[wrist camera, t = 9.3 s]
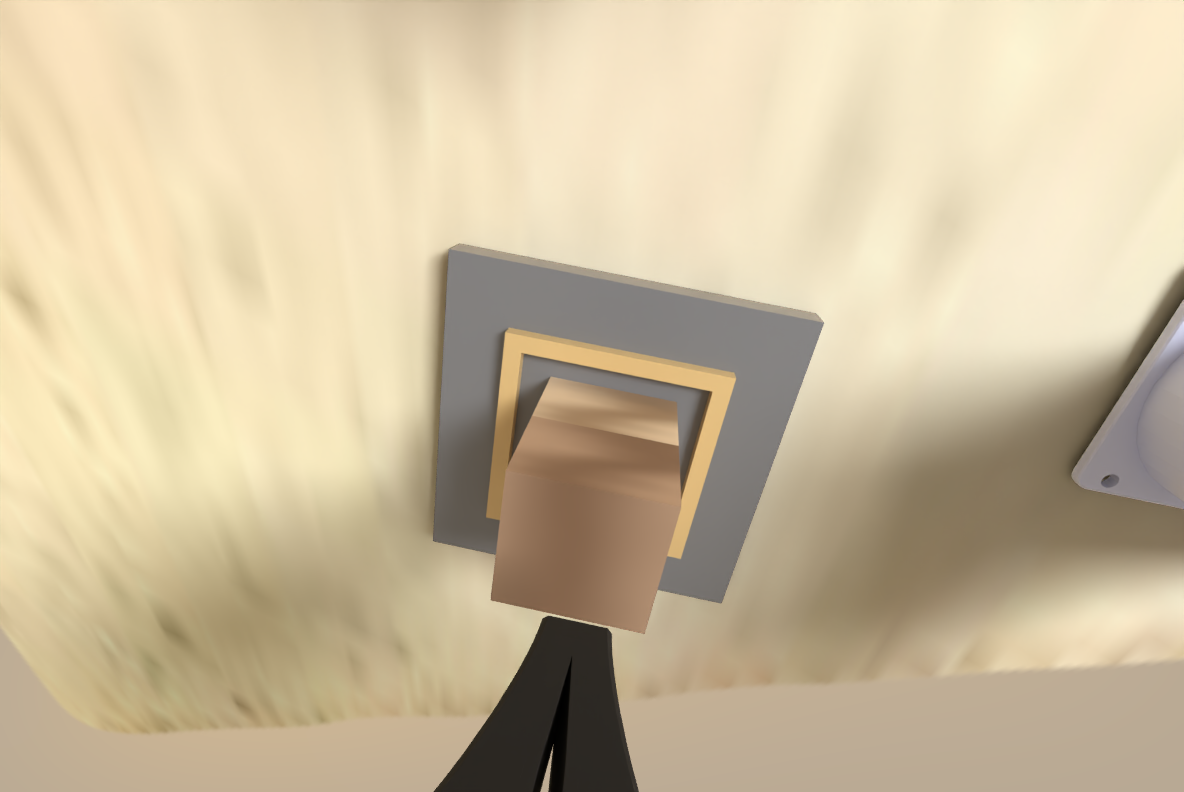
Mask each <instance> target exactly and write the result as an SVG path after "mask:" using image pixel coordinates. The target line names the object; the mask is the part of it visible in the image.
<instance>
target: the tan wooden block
mask: <svg viewBox="0 0 1184 792" xmlns="http://www.w3.org/2000/svg"><path fill="white" fill-rule="evenodd" d="M680 510H681V486H680V462H679V439H678V416H677V402H674V401H669V400H664V399H659V398H654V397H649V396H645V395H640V394H635V393H630V392H625V391H620V390H615V389H610V388H605V387H600V386H595V385H590V384H585V383H580V382H575V381H570V380H566V379H561V378H556V377H550V379H549V381H548V383H547V386H546V388H545V390H544V392H543V394H542V396H541V398H540V400H539V402H538V404H537V406H536V408H535V411H534V413H533V415H532V417H531V419H530V421H529V423H528V425H527V427H526V429H525V431H524V434H523V436H522V438H521V440H520V442H519V444H518V446H517V448H516V450H515V452H514V454H513V456H512V459H511V461H510V463H509V465H508V467H507V469H506V473H505V482H504V490H503V499H502V507H501V516H500V524H499V533H498V541H497V550H496V558H495V567H494V575H493V584H492V592H491V600H492V601H497V602H501V603H506V604H510V605H515V606H520V607H524V608H529V609H533V610H538V611H542V612H547V613H552V614H556V615H561V616H565V617H570V618H574V619H579V620H584V621H588V622H593V623H597V624H602V625H606V626H611V627H616V628H620V629H625V630H629V631H634V632H638V633H643V634H645V630H646V627H647V624H648V620H649V617H650V613H651V610H652V606H653V603H654V599H655V596H656V593H657V589H658V586H659V582H660V579H661V575H662V572H663V569H664V565H665V562H666V558H667V555H668V551H669V548H670V545H671V541H672V538H673V534H674V531H675V527H676V524H677V521H678V517H679V514H680Z"/></svg>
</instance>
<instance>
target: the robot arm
mask: <svg viewBox="0 0 1184 792" xmlns="http://www.w3.org/2000/svg"><path fill="white" fill-rule="evenodd" d="M1071 475H1072V479H1073V480H1074V482H1075V483H1077V484H1078V485H1079V486H1080V487H1082V488H1084V489H1087V490H1092V491H1097V492H1102V493H1107V494H1112V495H1117V496H1122V497H1127V498H1131V499H1136V500H1141V501H1146V502H1151V503H1156V504H1161V505H1166V506H1171V507H1176V508H1180V509H1184V300H1183V301H1182V303H1181V304H1180V306H1179V307H1178V309H1177V310H1176V312H1175V313H1174V315H1173V317H1172V318H1171V320H1170V321H1169V323H1168V324H1167V326H1166V327H1165V329H1164V330H1163V332H1162V334H1161V335H1160V337H1159V338H1158V340H1157V341H1156V343H1155V344H1154V346H1153V347H1152V349H1151V350H1150V352H1149V354H1148V355H1147V357H1146V358H1145V360H1144V361H1143V363H1142V364H1141V366H1140V367H1139V369H1138V370H1137V372H1136V374H1135V375H1134V377H1133V378H1132V380H1131V381H1130V383H1129V384H1128V386H1127V387H1126V389H1125V391H1124V392H1123V394H1122V395H1121V397H1120V398H1119V400H1118V401H1117V403H1116V404H1115V406H1114V407H1113V409H1112V411H1111V412H1110V414H1109V415H1108V417H1107V418H1106V420H1105V421H1104V423H1103V424H1102V426H1101V428H1100V429H1099V431H1098V432H1097V434H1096V435H1095V437H1094V438H1093V440H1092V441H1091V443H1090V444H1089V446H1088V448H1087V449H1086V451H1085V452H1084V454H1083V455H1082V457H1081V458H1080V460H1079V461H1078V463H1077V464H1076V466H1075V468H1074V469H1073V472H1072V474H1071ZM1108 475H1110V476H1109V477H1108V478H1107V479H1106V480H1103V481H1102V479H1103V478H1104V477H1105V476H1108ZM552 747H553V754H552V763H551V772H550V782H549V791H548V792H639V791H638V787H637V783H636V779H635V776H634V772H633V768H632V764H631V760H630V756H629V751H628V747H627V743H626V738H625V733H624V728H623V723H622V718H621V714H620V708H619V703H618V697H617V690H616V683H615V676H614V668H613V657H612V634H611V632H610V631H609V630H608V628H603V627H598V626H594V625H589V624H585V623H580V622H575V621H571V620H566V619H562V618H557V617H552V616H547V617H545V618H543V619H542V622H541V624H540V627H539V630H538V632H537V634H536V637H535V639H534V641H533V643H532V645H531V647H530V649H529V651H528V653H527V655H526V657H525V659H524V661H523V663H522V664H521V666H520V668H519V670H518V672H517V673H516V675H515V677H514V678H513V680H512V682H511V683H510V685H509V686H508V688H507V690H506V691H505V693H504V695H503V696H502V698H501V699H500V701H499V703H498V704H497V706H496V707H495V709H494V710H493V712H492V714H491V715H490V716H489V718H488V719H487V721H486V722H485V724H484V725H483V726H482V728H481V729H480V731H479V732H478V734H477V735H476V736H475V738H474V739H473V741H472V742H471V744H470V745H469V746H468V748H467V749H466V751H465V752H464V754H463V755H462V756H461V758H460V759H459V760H458V761H457V763H456V764H455V765H454V767H453V768H452V769H451V771H450V772H449V773H448V774H447V776H446V777H445V778H444V780H443V781H442V782H441V783H440V784H439V786H438V787H437V788H436V789H435V791H434V792H540V791H541V787H542V783H543V780H544V776H545V773H546V769H547V765H548V761H549V758H550V754H551V751H552Z"/></svg>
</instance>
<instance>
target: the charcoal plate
mask: <svg viewBox="0 0 1184 792" xmlns="http://www.w3.org/2000/svg"><path fill="white" fill-rule="evenodd" d="M823 324H824V322H823V321H822V320H821V318H820V317H819V316H818V315H817V314H816V313H811V312H806V311H801V310H796V309H791V308H785V307H780V306H775V305H770V304H765V303H760V302H755V301H750V300H745V299H740V298H734V297H729V296H724V295H719V294H714V293H709V292H704V291H699V290H694V289H688V288H683V287H678V286H673V285H668V284H663V283H658V282H653V281H648V280H642V279H637V278H632V277H627V276H622V275H617V274H612V273H607V272H602V271H597V270H591V269H586V268H581V267H576V266H571V265H566V264H561V263H556V262H551V261H545V260H540V259H535V258H530V257H525V256H520V255H515V254H510V253H505V252H500V251H494V250H489V249H484V248H479V247H474V246H469V245H464V244H458V245H456V246H454V247H452V248H450V249H449V254H448V273H447V291H446V310H445V329H444V347H443V366H442V384H441V403H440V421H439V440H438V458H437V477H436V496H435V514H434V533H433V541H435V542H439V543H444V544H449V545H453V546H458V547H463V548H467V549H472V550H476V551H481V552H486V553H490V554H495V555H496V550H497V541H498V533H499V524H500V516H501V507H502V499H503V490H504V482H505V473H506V469H507V467H508V465H509V463H510V461H511V459H512V456H513V454H514V452H515V450H516V448H517V446H518V444H519V442H520V440H521V438H522V436H523V434H524V431H525V429H526V427H527V425H528V423H529V421H530V419H531V417H532V415H533V413H534V411H535V408H536V406H537V404H538V402H539V400H540V398H541V396H542V394H543V392H544V390H545V388H546V386H547V383H548V381H549V379H550V377H556V378H561V379H566V380H570V381H575V382H580V383H585V384H590V385H595V386H600V387H605V388H610V389H615V390H620V391H625V392H630V393H635V394H640V395H645V396H649V397H654V398H659V399H664V400H669V401H674V402H677V416H678V439H679V462H680V486H681V510H680V514H679V517H678V521H677V524H676V527H675V531H674V534H673V538H672V541H671V545H670V548H669V551H668V555H667V558H666V562H665V565H664V569H663V572H662V575H661V579H660V582H659V586H658V589H657V590H661V591H666V592H671V593H675V594H680V595H685V596H689V597H694V598H698V599H703V600H708V601H712V602H717V603H722V600H723V598H724V595H725V592H726V590H727V587H728V584H729V581H730V579H731V576H732V573H733V570H734V568H735V565H736V562H737V559H738V557H739V554H740V551H741V549H742V546H743V543H744V540H745V538H746V535H747V532H748V529H749V527H750V524H751V521H752V518H753V516H754V513H755V510H756V508H757V505H758V502H759V499H760V497H761V494H762V491H763V488H764V486H765V483H766V480H767V477H768V475H769V472H770V469H771V467H772V464H773V461H774V458H775V456H776V453H777V450H778V447H779V445H780V442H781V439H782V436H783V434H784V431H785V428H786V425H787V423H788V420H789V417H790V415H791V412H792V409H793V406H794V404H795V401H796V398H797V395H798V393H799V390H800V387H801V384H802V382H803V379H804V376H805V374H806V371H807V368H808V365H809V363H810V360H811V357H812V354H813V352H814V349H815V346H816V343H817V341H818V338H819V335H820V333H821V330H822V327H823Z"/></svg>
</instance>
